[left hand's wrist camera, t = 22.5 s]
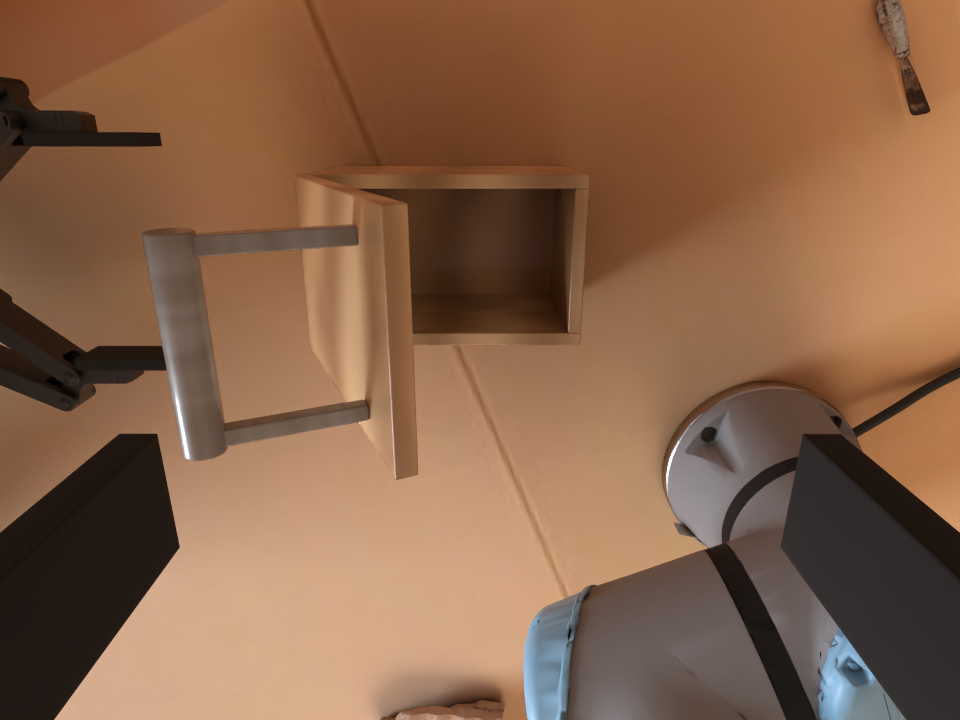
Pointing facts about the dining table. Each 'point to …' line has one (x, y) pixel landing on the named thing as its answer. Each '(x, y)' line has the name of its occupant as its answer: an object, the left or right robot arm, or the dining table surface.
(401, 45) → the dining table surface
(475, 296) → the chest
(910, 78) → the putty knife
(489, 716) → the stone
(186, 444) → the lid
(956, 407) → the dining table surface
